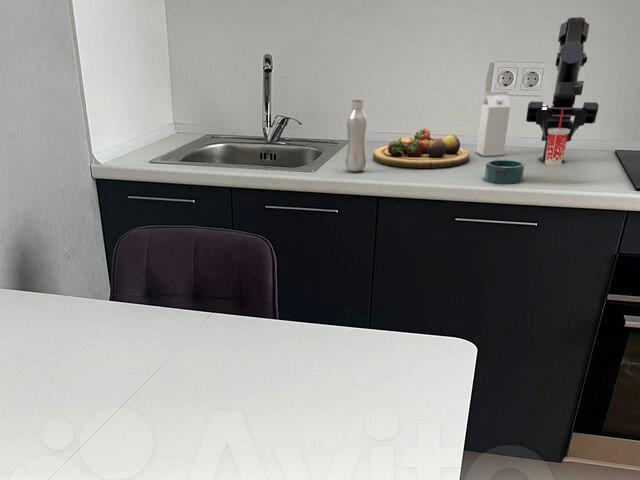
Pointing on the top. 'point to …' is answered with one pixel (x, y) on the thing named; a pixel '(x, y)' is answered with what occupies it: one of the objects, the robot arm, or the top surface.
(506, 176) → the pot
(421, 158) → the wooden plate
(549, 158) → the beverage cup
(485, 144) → the milk carton
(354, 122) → the plastic bottle
